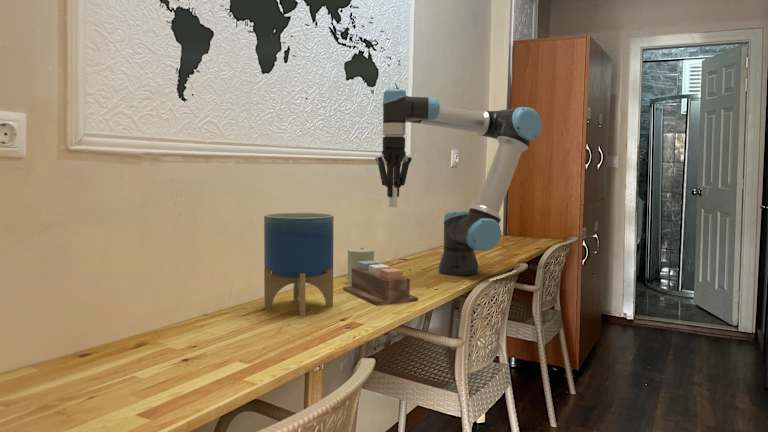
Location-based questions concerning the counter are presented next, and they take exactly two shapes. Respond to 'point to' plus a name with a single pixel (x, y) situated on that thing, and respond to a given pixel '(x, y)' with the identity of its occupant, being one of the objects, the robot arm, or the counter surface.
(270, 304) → the planter
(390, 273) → the key terracotta
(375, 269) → the key white
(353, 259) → the can
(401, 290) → the brown block holder tray
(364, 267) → the grey square block
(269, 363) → the counter surface
